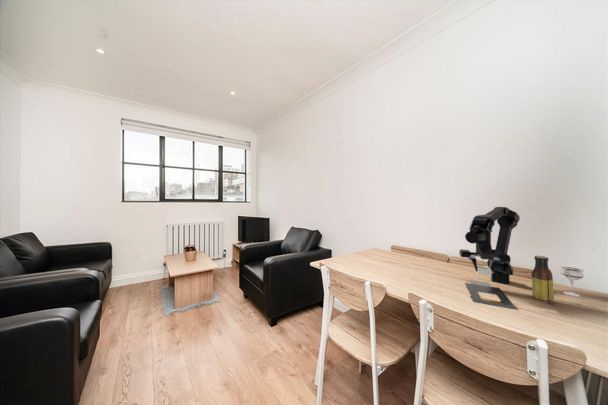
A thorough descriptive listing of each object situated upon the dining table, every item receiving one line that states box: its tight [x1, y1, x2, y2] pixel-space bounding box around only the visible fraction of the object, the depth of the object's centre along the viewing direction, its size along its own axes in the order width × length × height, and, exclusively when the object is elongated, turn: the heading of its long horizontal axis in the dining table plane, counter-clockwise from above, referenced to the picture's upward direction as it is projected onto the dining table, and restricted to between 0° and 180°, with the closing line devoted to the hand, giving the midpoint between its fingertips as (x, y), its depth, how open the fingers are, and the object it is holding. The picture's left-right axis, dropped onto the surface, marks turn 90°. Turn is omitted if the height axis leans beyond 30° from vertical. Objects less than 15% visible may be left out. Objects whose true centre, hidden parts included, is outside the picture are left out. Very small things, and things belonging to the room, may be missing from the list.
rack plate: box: [464, 282, 517, 310], centre depth 99 cm, size 14×20×1 cm
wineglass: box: [559, 266, 584, 297], centre depth 98 cm, size 7×7×12 cm
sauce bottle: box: [531, 255, 555, 305], centre depth 93 cm, size 6×6×20 cm
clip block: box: [476, 264, 492, 277], centre depth 104 cm, size 5×5×3 cm
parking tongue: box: [469, 279, 491, 287], centre depth 110 cm, size 8×5×1 cm, turn 61°
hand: (483, 272), depth 104 cm, fingers closed on clip block, 5 cm apart
